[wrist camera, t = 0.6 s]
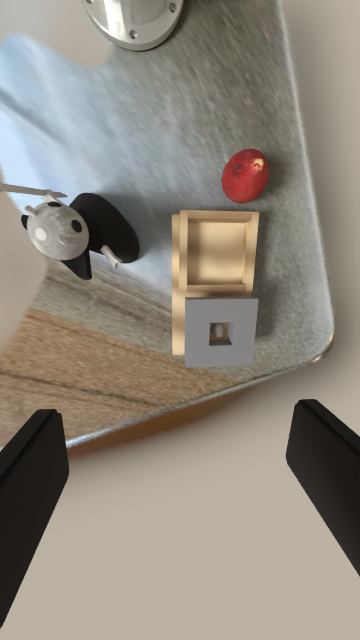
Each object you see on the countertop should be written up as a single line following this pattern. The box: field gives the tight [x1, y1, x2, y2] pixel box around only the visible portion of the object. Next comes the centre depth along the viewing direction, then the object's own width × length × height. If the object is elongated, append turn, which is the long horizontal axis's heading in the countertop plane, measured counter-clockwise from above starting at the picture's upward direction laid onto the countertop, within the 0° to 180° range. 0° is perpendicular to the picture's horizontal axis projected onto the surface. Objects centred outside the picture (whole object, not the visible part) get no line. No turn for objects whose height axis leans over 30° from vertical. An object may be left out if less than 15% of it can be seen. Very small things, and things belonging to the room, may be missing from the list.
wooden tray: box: [172, 210, 259, 355], centre depth 31 cm, size 22×13×6 cm, turn 0°
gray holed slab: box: [184, 297, 259, 368], centre depth 30 cm, size 10×10×2 cm
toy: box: [0, 182, 139, 280], centre depth 24 cm, size 12×7×15 cm, turn 44°
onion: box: [222, 149, 269, 204], centre depth 27 cm, size 6×6×8 cm
